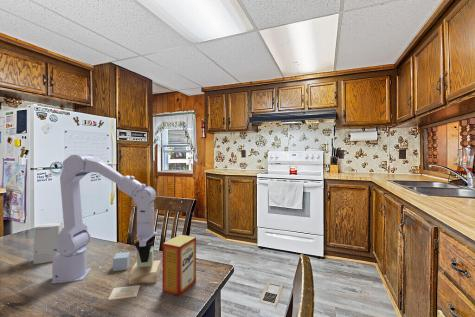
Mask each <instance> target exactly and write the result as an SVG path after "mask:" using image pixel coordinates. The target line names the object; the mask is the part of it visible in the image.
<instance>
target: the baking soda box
mask: <svg viewBox="0 0 475 317" xmlns="http://www.w3.org/2000/svg"><path fill="white" fill-rule="evenodd" d="M196 281H197V237H196V236H192V235H186V234H179V235H177V236H174V237H172V238H170V239H169V240H167V241H165V242H163V243H162V282H161V284H162V292H164V293H168V294H171V295H174V297H180V296H182V295H183V294H184V293H185V292H186V291H187V290H188V289H190V287H191V286H193V285H194V284H195V283H196Z"/></svg>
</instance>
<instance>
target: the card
mask: <svg viewBox="0 0 475 317" xmlns="http://www.w3.org/2000/svg"><path fill="white" fill-rule="evenodd" d="M140 287H141V285H140V284H139V285H129V286H122V287H121V286H119V287H113V289H112V291H111V293H110V294H109V297H108V301H113V300H120V299H129V298H134V297H135V298H136V297H138V295H139V294H138V293H139V291H140Z"/></svg>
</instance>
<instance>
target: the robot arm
mask: <svg viewBox="0 0 475 317" xmlns="http://www.w3.org/2000/svg"><path fill="white" fill-rule="evenodd" d="M90 173H96V174H99V175H101V176H103V177H104V178H106V179H107V180H110V181H112V182H113V183H115V184H116V186H117V189H118V190H119V191H121V192H123V193H124V194H126V195H128V196H129V197H130V198H132V199H133V200H134V203H135V204H136V238H137V240H138V241H137V242H135V243H134V246H135V248H136V250H137V251H138V252H139V255H140V260H141V263H144V262H148V259H149V253H150V248H151V246H153V244H154V239H155V237H156V236H158V231H155V201H154V200H156V198H157V192H156V190H155V189H154V188H153V187H152V186H149V185H148V186H146V183H141V182H140V181H138V180H137V179H135V178H136V177H135V176H134V175H123V174H121V173H120V172H119V171H117V170H116V169H115V168H113V167H111V165H109V164H107V163H106V162H104V160H102V159H101V158H99V157H97V156H96V155H94V154H71V155H69V156H68V157H66V158H65V159H64V160H63V161H62V170H61V174H60V176H59V181H60V183H59V184H60V194H61V206H62V209H61V210H62V220H63V229H62V230H61V232H60V233H59V235H58V242H57V244H56V249H57V251H58V253H57V254H56V255H55V257H54V259H53V262H52V269H51V270H52V272H51V273H52V275H51V276H52V281H51V282H50V284H59V283H69V282H78V281H83V280H84V279H85V278H86V276H88V273H89V272H90V271H91V268H90V267H89V268H87V248H88V244H89V243H90V241H91V234H90V232H89V230H88V226H87V225H86V224H85V223H83V213H82V212H83V211H82V201H81V186H80V181H81V180H82V179H83V178H84V177H85V176H86V175H88V174H90Z"/></svg>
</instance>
